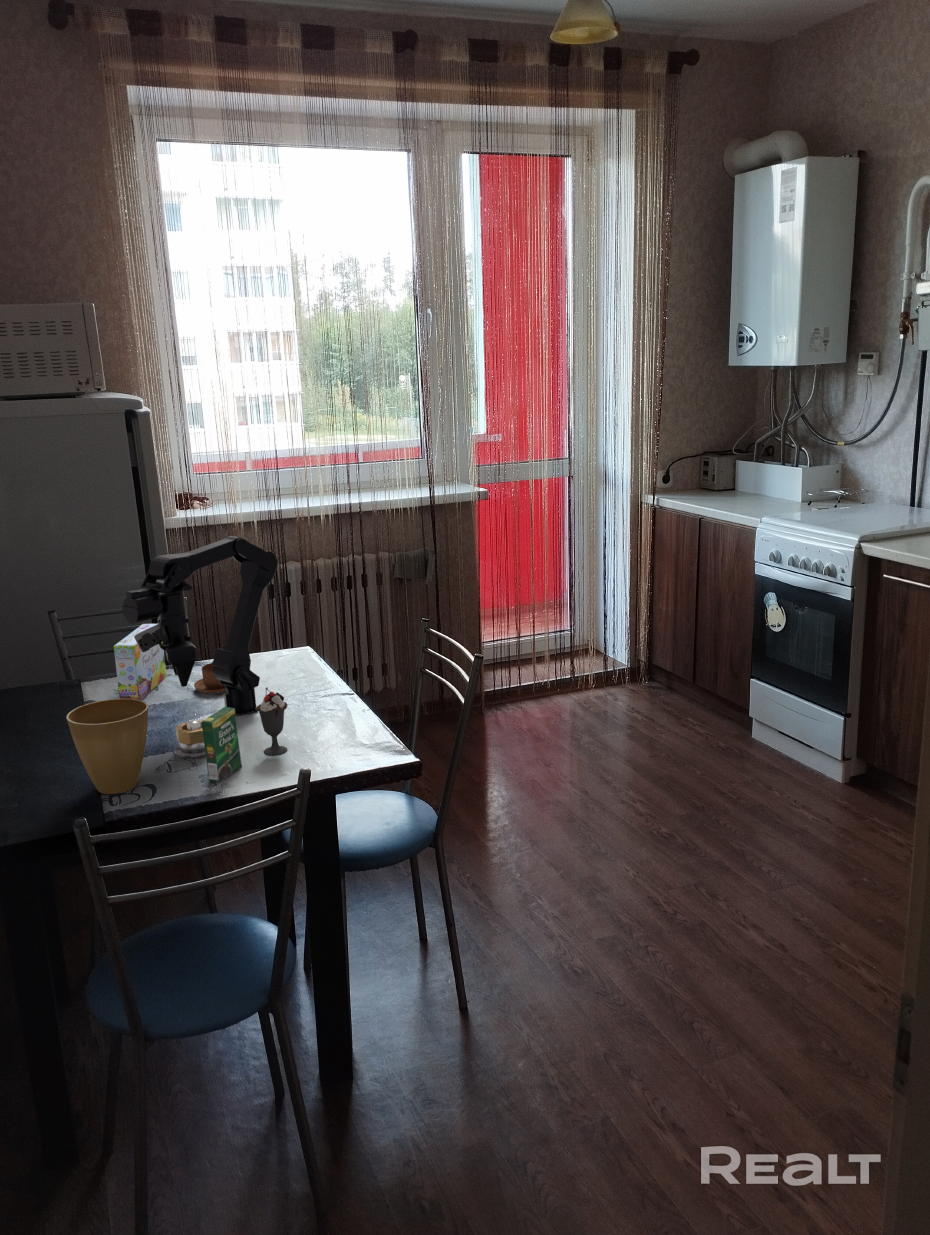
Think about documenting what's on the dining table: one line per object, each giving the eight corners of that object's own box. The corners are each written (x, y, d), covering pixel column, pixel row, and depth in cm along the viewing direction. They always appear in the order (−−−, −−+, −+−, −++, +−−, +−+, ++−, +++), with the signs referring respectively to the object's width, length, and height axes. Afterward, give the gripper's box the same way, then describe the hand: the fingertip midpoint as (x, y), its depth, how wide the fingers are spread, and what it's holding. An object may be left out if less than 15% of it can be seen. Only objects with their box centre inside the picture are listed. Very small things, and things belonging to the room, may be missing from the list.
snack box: (141, 703, 237) (134, 645, 233) (119, 704, 237) (111, 645, 233) (168, 676, 258) (161, 622, 254) (147, 677, 258) (140, 622, 254)
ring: (208, 729, 210) (207, 718, 209) (214, 739, 204) (213, 728, 203) (175, 735, 207) (174, 724, 206) (180, 746, 201) (179, 734, 200)
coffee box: (219, 783, 189) (212, 721, 186) (207, 782, 190) (199, 720, 187) (242, 767, 196) (236, 707, 193) (231, 766, 197) (224, 706, 194)
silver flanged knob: (214, 739, 212) (210, 711, 210) (221, 753, 204) (218, 724, 202) (172, 747, 208) (168, 719, 207) (178, 761, 200) (174, 732, 199)
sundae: (265, 759, 200) (258, 691, 196) (256, 749, 206) (249, 682, 202) (295, 753, 203) (289, 685, 199) (286, 742, 208) (279, 677, 205)
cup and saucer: (205, 681, 252) (203, 659, 251) (249, 681, 251) (247, 659, 249) (187, 697, 241) (184, 673, 239) (232, 697, 239) (230, 673, 238)
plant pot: (147, 800, 183) (137, 721, 179) (68, 805, 182) (55, 726, 178) (165, 768, 197) (155, 695, 193) (91, 773, 196) (80, 699, 192)
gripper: (129, 609, 216) (138, 675, 220) (139, 628, 199) (148, 699, 203) (180, 602, 220) (188, 667, 224) (194, 620, 203) (202, 690, 207)
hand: (180, 680), depth 214 cm, fingers open, 9 cm apart
